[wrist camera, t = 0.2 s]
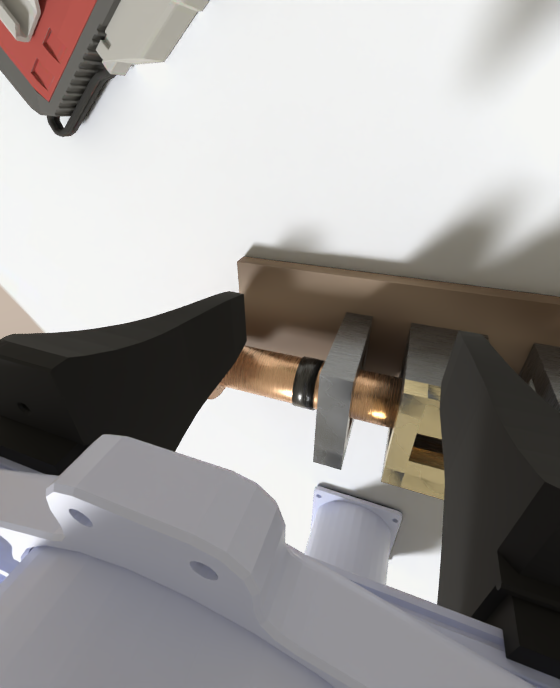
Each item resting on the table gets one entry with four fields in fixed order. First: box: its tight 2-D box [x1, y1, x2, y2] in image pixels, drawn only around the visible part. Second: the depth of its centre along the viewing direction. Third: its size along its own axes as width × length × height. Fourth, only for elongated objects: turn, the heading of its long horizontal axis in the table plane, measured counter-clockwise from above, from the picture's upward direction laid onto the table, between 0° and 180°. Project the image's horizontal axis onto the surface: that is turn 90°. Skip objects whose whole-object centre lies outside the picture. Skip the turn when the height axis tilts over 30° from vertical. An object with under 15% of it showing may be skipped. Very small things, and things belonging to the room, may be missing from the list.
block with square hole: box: [313, 312, 560, 500], centre depth 19 cm, size 6×12×6 cm, turn 92°
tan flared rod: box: [208, 346, 442, 441], centre depth 21 cm, size 5×16×5 cm, turn 92°
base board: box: [237, 257, 560, 378], centre depth 23 cm, size 11×22×1 cm, turn 92°
